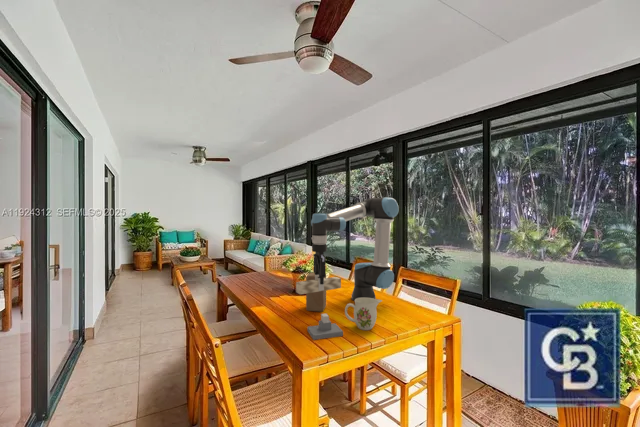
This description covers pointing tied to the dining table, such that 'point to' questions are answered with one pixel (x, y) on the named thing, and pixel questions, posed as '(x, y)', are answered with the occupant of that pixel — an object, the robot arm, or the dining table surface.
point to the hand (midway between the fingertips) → (319, 288)
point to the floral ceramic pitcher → (364, 312)
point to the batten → (312, 285)
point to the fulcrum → (324, 329)
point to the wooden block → (315, 297)
